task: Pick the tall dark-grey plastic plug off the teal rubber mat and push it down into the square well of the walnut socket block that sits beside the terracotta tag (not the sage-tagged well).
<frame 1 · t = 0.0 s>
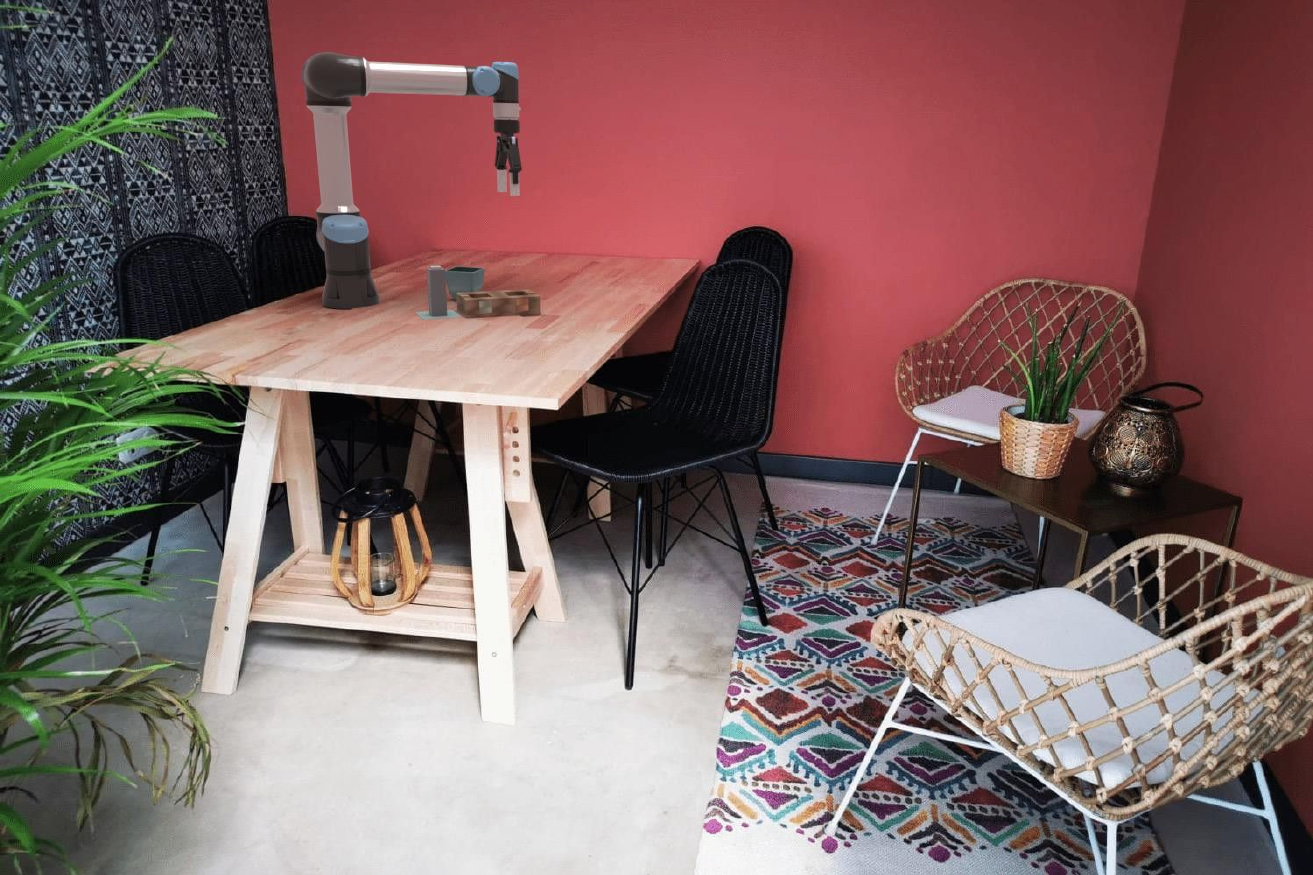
hand: (508, 194, 281), 28 cm above the table, fingers open, 13 cm apart
plug: (438, 314, 247), resting on mat
socket block: (498, 313, 253), on the table
flower pot: (466, 301, 268), on the table
mat: (438, 316, 247), on the table
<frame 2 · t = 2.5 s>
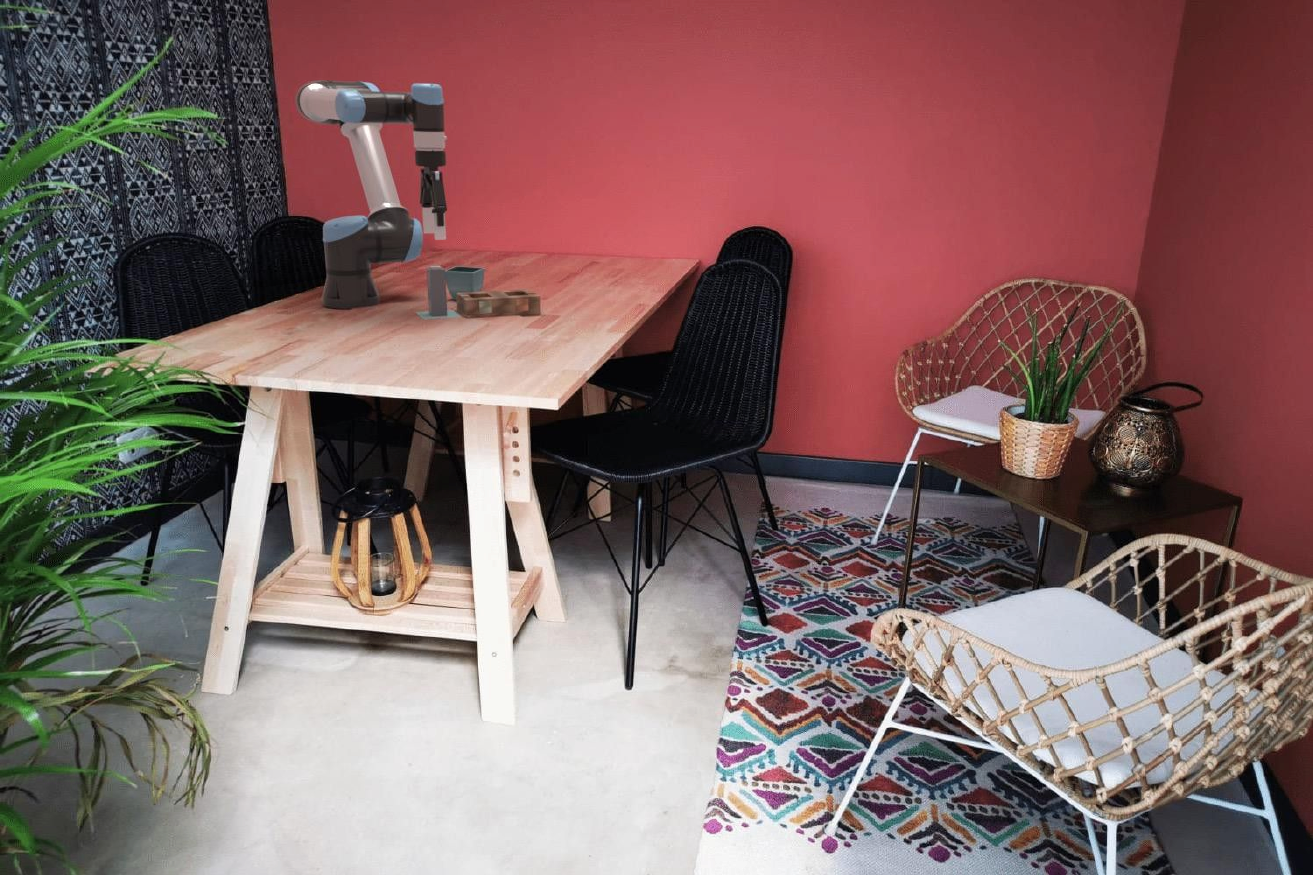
hand: (434, 236, 241), 21 cm above the table, fingers open, 13 cm apart
nothing on the table moved.
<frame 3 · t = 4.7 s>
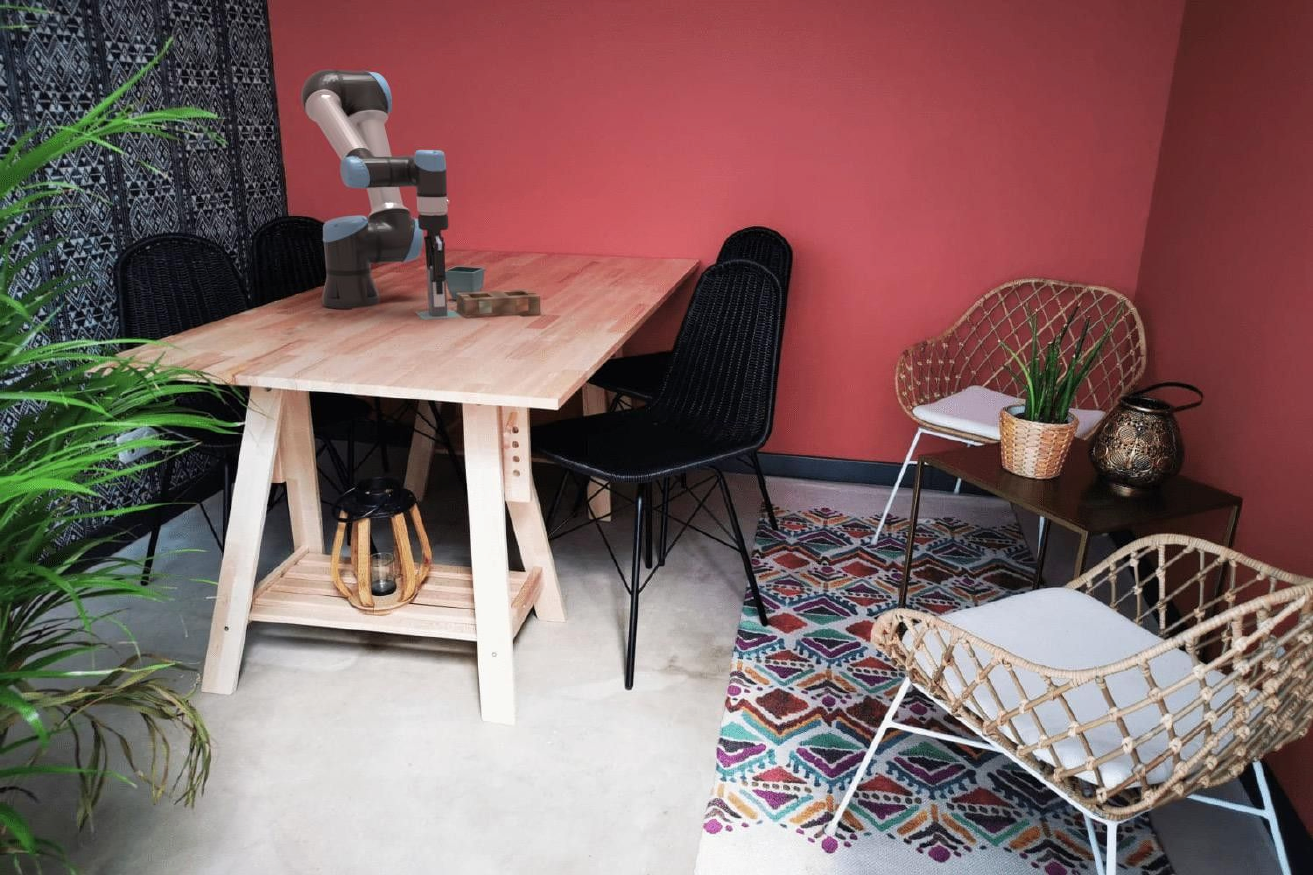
hand: (437, 304, 246), 3 cm above the table, fingers closed on plug, 4 cm apart
plug: (438, 314, 247), resting on mat, touching gripper
everything else where it was.
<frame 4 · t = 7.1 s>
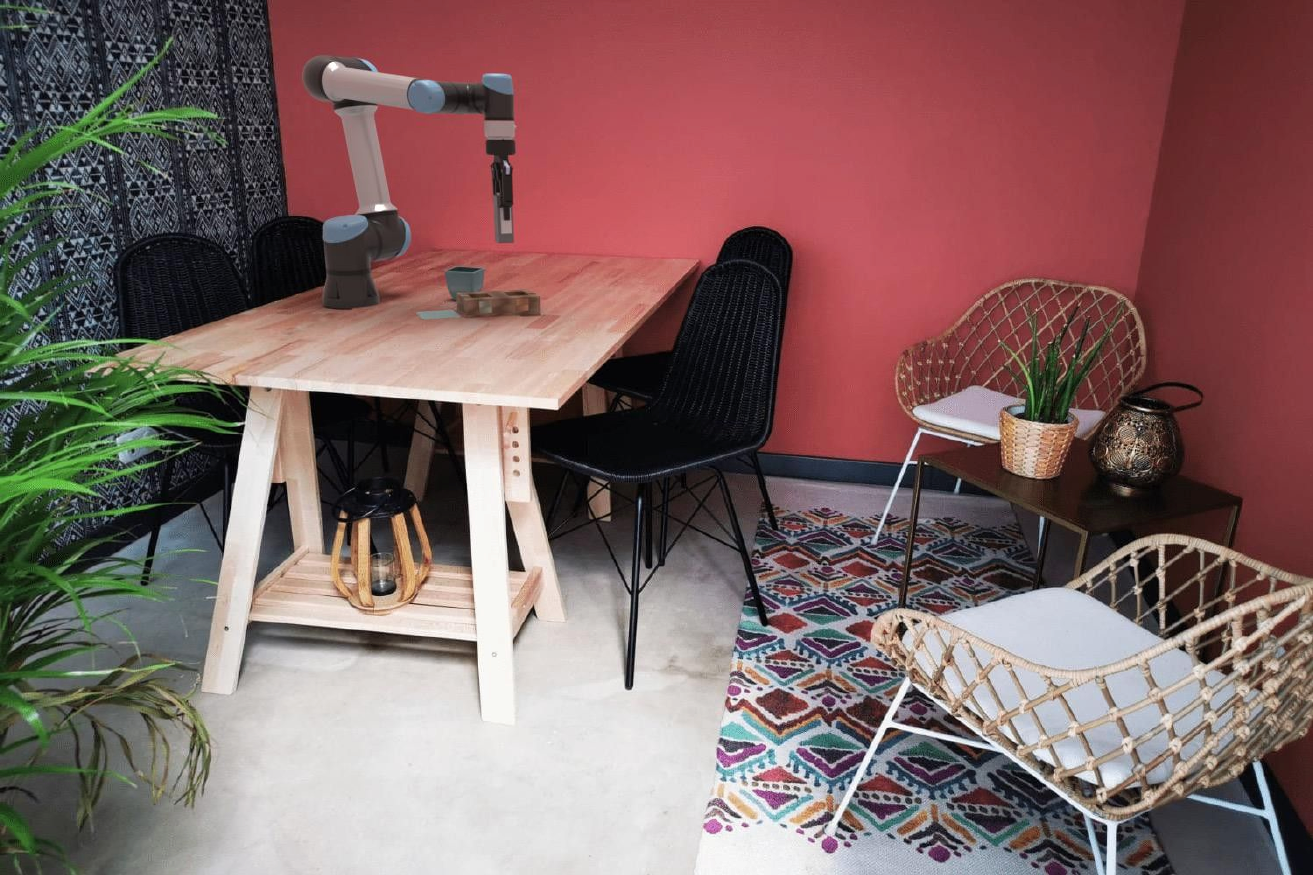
hand: (504, 232, 246), 21 cm above the table, fingers closed on plug, 4 cm apart
plug: (504, 242, 247), point 19 cm above the table, touching gripper
everything else where it was.
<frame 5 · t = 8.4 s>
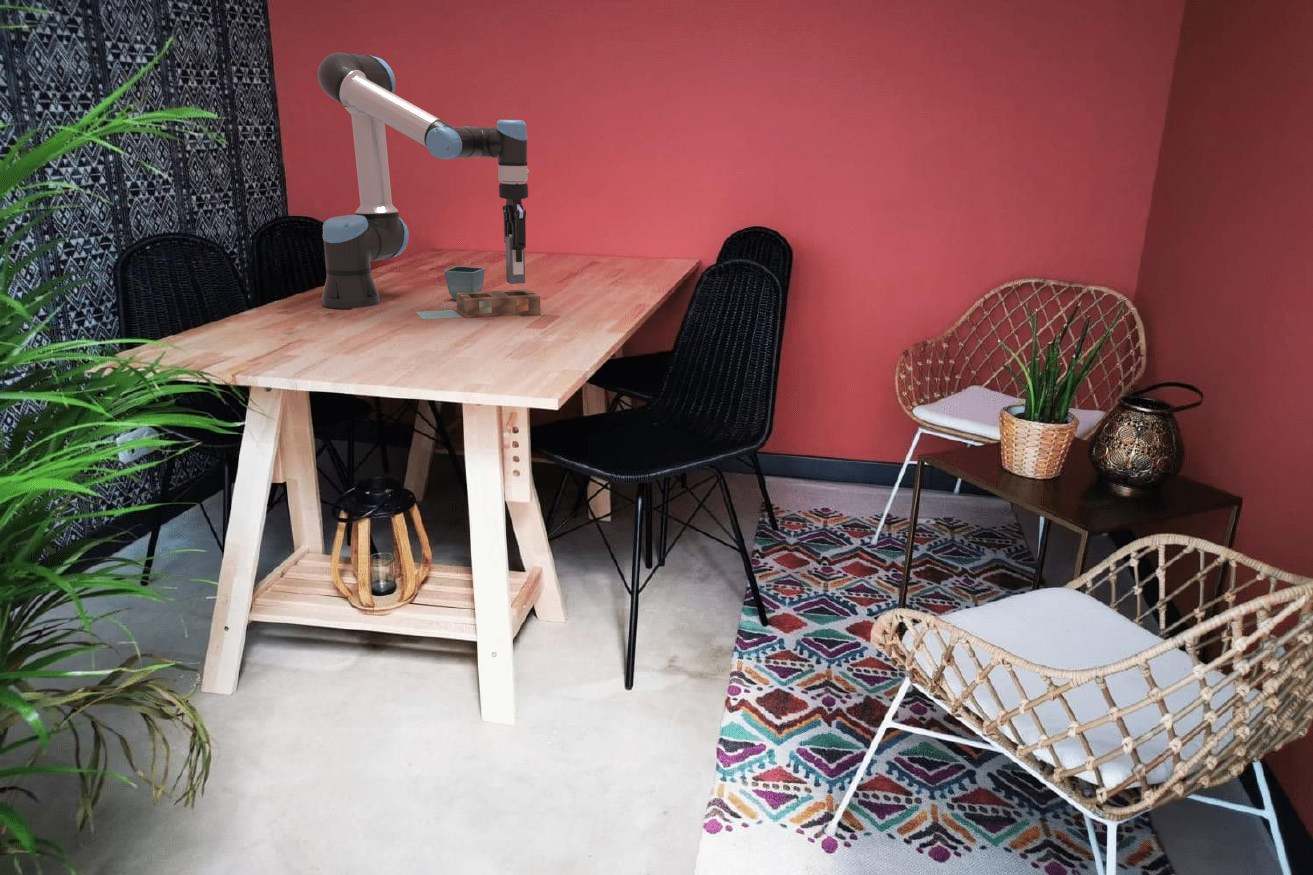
hand: (515, 272, 251), 11 cm above the table, fingers closed on plug, 4 cm apart
plug: (515, 282, 252), point 8 cm above the table, touching gripper
everything else where it was.
when the fingers open (6 cm above the table, at t = 9.6 s): plug drops 2 cm, resting on socket block.
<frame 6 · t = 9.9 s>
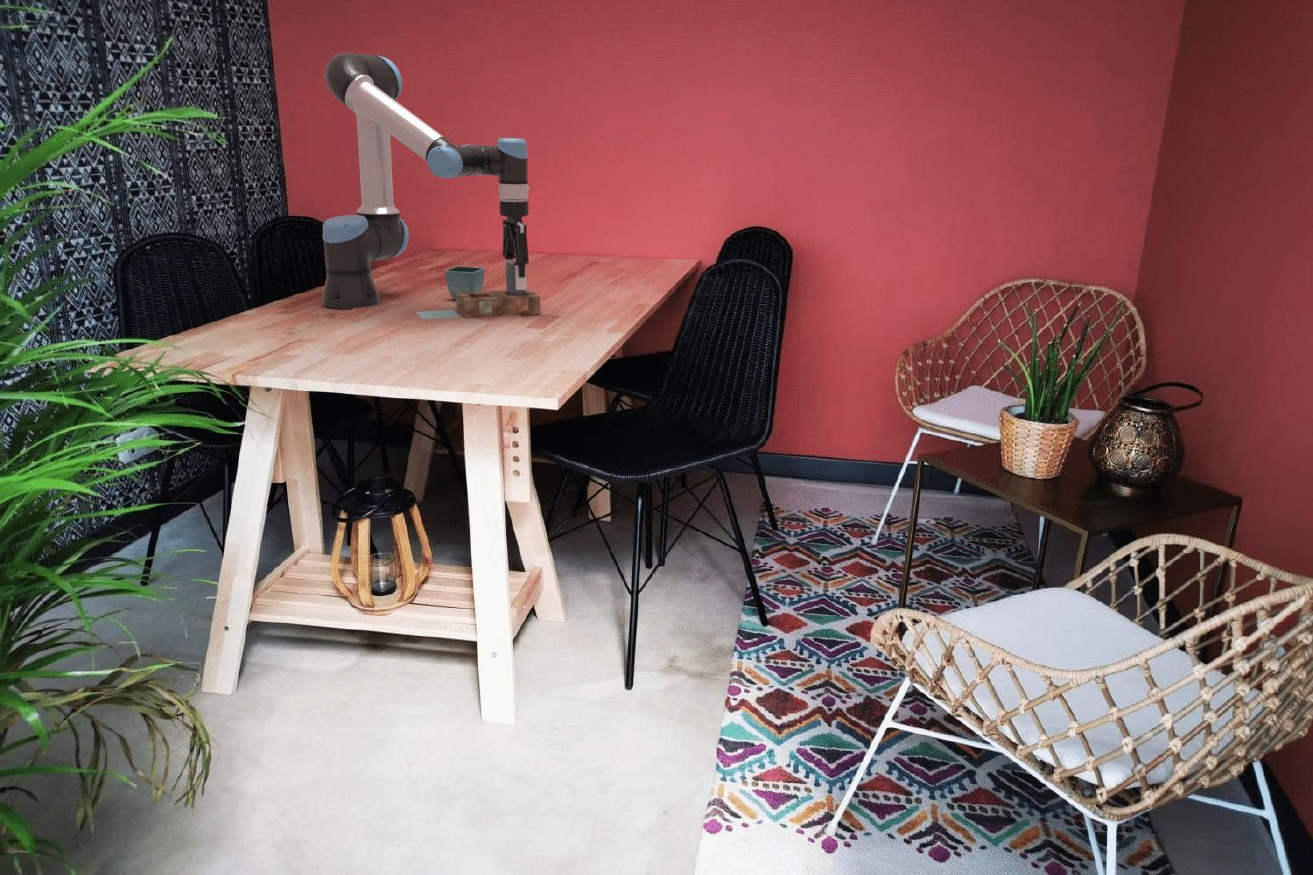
hand: (516, 286, 253), 7 cm above the table, fingers open, 9 cm apart
plug: (516, 308, 254), point 1 cm above the table, touching socket block
everything else where it was.
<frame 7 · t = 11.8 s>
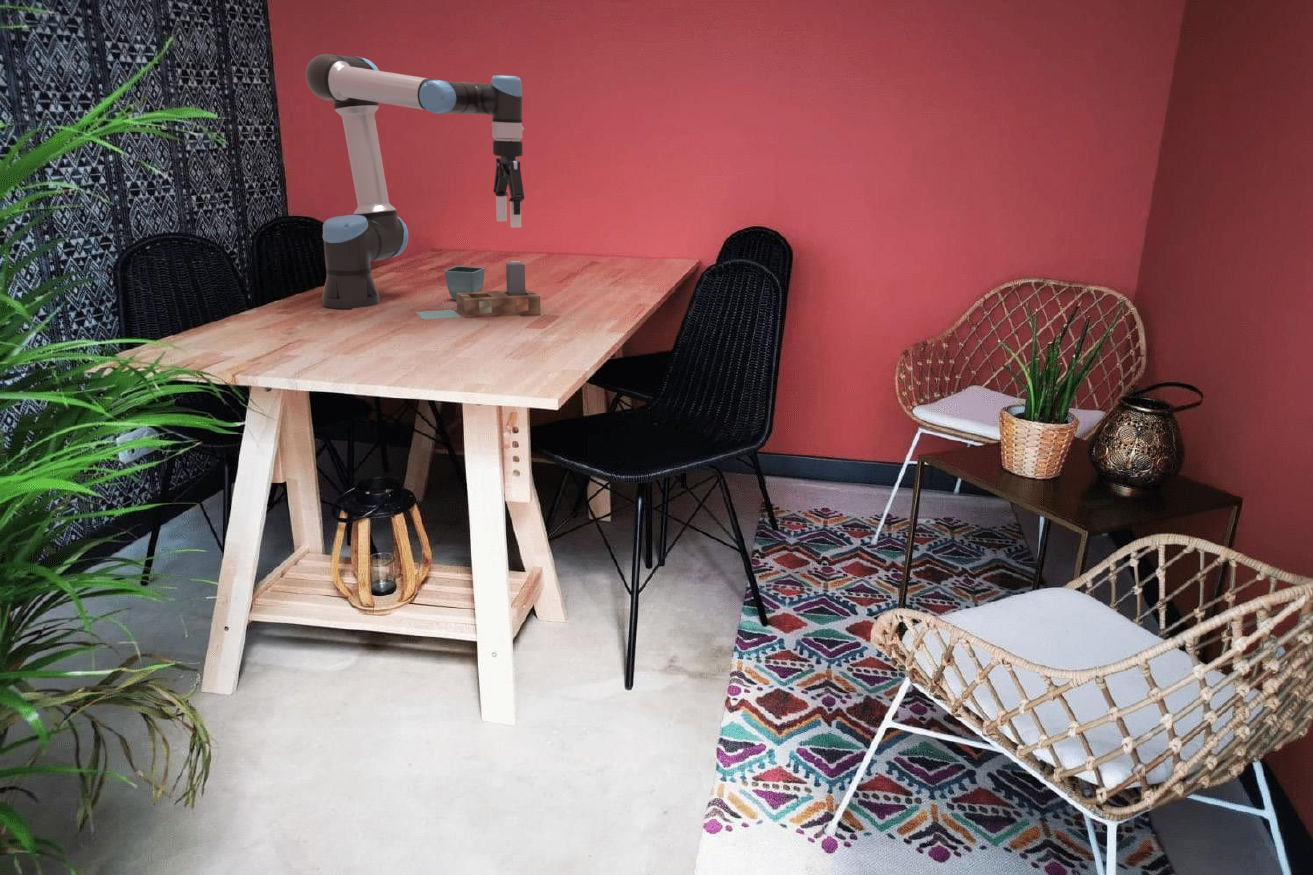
hand: (508, 224, 248), 23 cm above the table, fingers open, 13 cm apart
nothing on the table moved.
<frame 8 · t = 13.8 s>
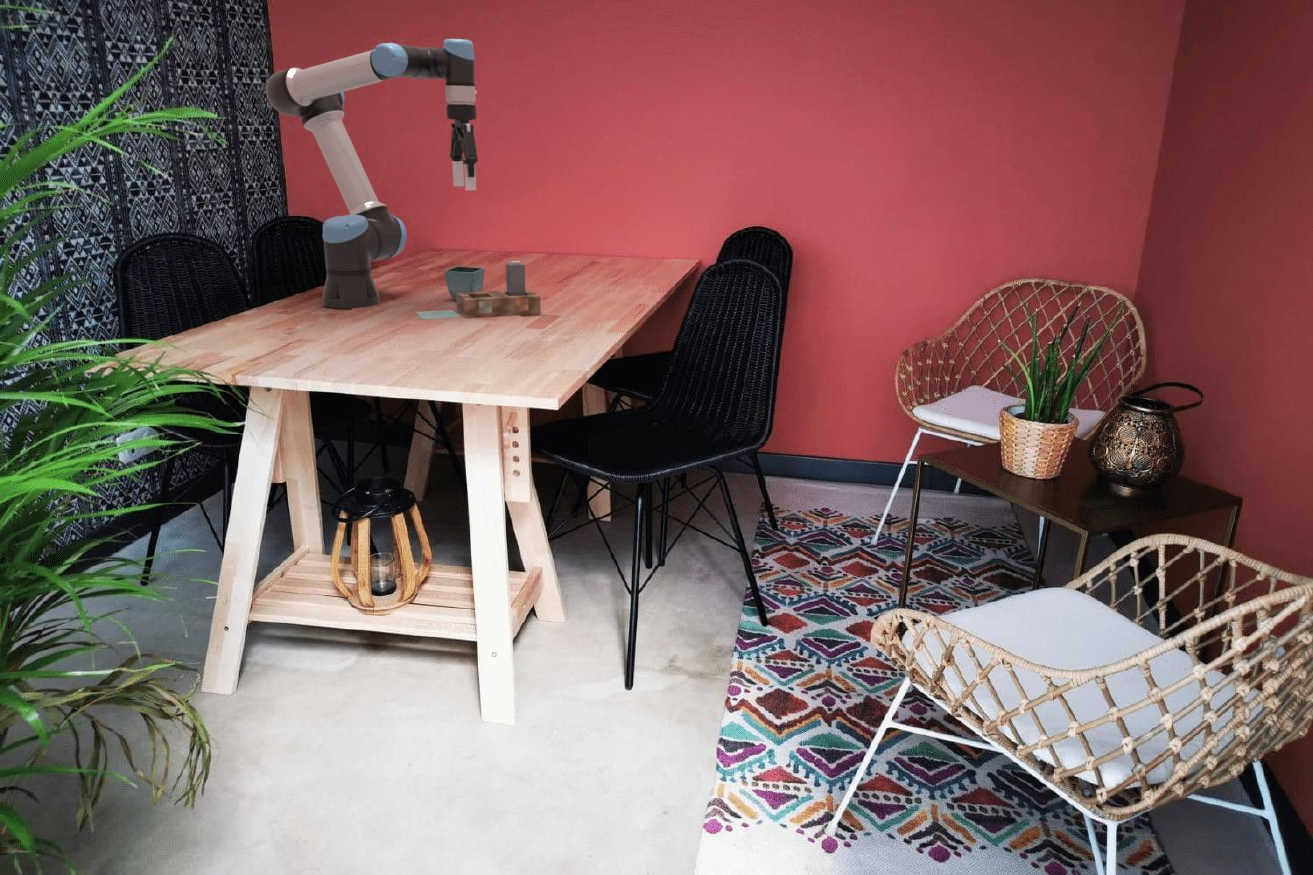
hand: (464, 188, 251), 32 cm above the table, fingers open, 13 cm apart
nothing on the table moved.
at the end: plug 0.0 cm from the target spot on the socket block, point 1.0 cm above the socket block's base; plug tilted 0°; the gripper is holding nothing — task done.
